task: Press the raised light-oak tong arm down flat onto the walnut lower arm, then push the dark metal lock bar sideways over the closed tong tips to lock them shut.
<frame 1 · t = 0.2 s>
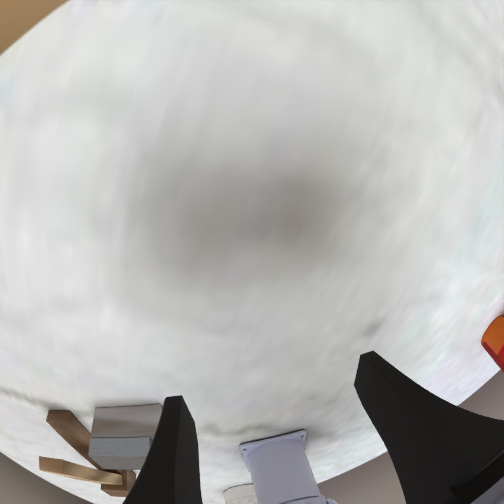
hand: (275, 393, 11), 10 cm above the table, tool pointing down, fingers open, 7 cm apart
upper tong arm: (85, 474, 22), point 5 cm above the table, hinge at 18.0°
white cup: (243, 489, 39), on the table
lock bar: (124, 454, 20), point 5 cm above the table, slide at 0.0 cm
paper cup: (492, 329, 33), on the table
tongs base: (89, 442, 26), on the table
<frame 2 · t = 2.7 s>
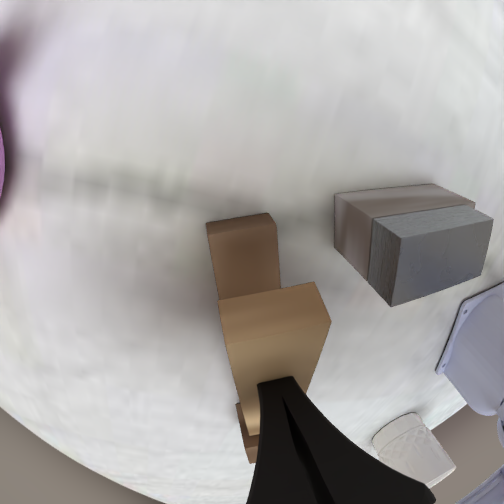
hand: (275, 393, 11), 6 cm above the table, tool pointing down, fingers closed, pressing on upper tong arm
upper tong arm: (270, 391, 13), point 5 cm above the table, hinge at 18.0°, touching gripper
white cup: (394, 427, 30), on the table
lock bar: (435, 250, 12), point 5 cm above the table, slide at 0.0 cm
tongs base: (252, 330, 17), on the table
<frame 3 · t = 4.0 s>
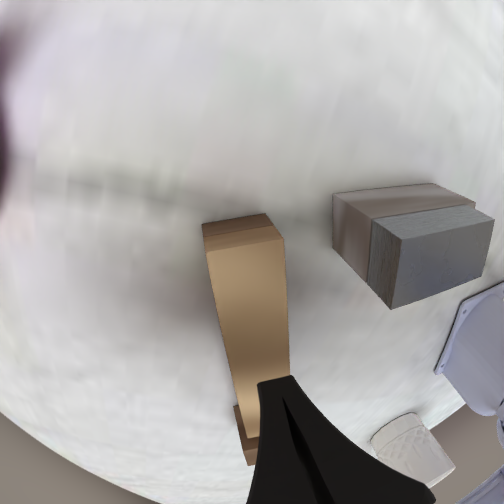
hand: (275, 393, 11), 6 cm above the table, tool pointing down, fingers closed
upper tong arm: (257, 360, 15), point 2 cm above the table, hinge at -0.7°, touching tongs base
white cup: (392, 427, 30), on the table
lock bar: (436, 251, 11), point 5 cm above the table, slide at 0.0 cm
tongs base: (249, 332, 17), on the table
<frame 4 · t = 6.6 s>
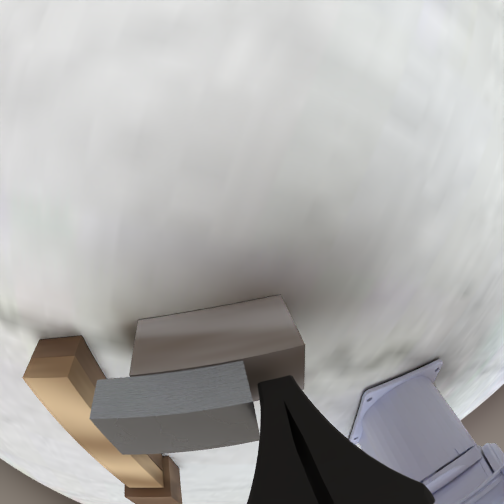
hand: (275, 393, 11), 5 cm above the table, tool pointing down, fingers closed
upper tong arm: (105, 440, 14), point 2 cm above the table, hinge at -0.7°, touching tongs base
lock bar: (176, 414, 10), point 5 cm above the table, slide at 1.5 cm, touching gripper
tongs base: (109, 413, 16), on the table
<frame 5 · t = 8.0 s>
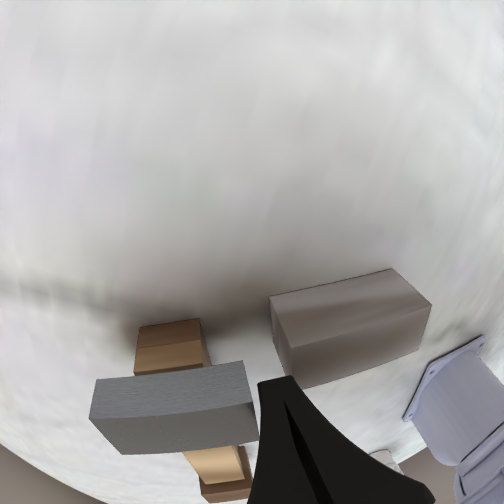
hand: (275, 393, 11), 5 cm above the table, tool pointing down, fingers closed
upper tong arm: (202, 434, 15), point 2 cm above the table, hinge at -0.7°, touching tongs base
white cup: (364, 461, 30), on the table
lock bar: (176, 414, 10), point 5 cm above the table, slide at 7.9 cm, touching gripper
tongs base: (199, 404, 17), on the table
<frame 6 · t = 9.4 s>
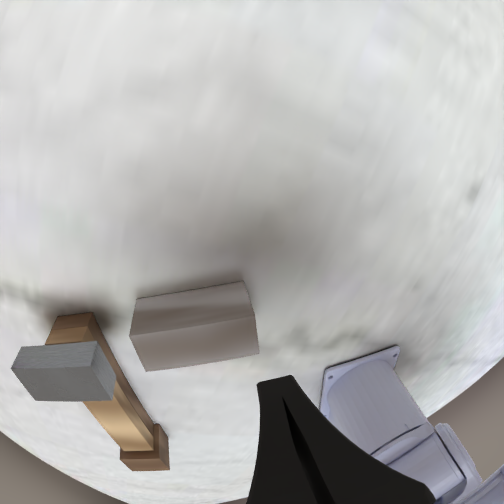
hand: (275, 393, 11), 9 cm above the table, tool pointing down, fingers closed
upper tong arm: (106, 402, 19), point 2 cm above the table, hinge at -0.7°, touching tongs base
lock bar: (62, 373, 14), point 5 cm above the table, slide at 8.0 cm
tongs base: (110, 380, 21), on the table
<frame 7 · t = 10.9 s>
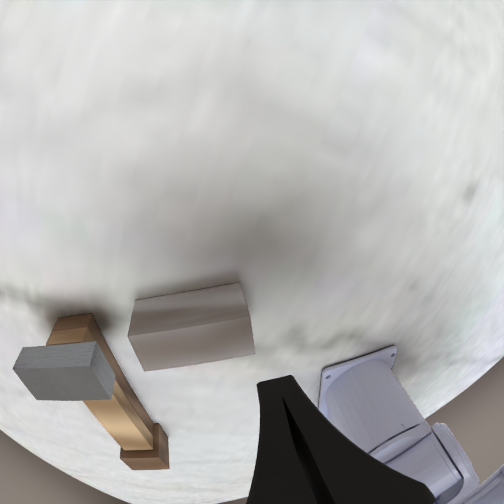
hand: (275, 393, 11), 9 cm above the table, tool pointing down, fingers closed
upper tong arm: (106, 401, 19), point 2 cm above the table, hinge at -0.7°, touching tongs base
lock bar: (63, 373, 14), point 5 cm above the table, slide at 8.0 cm
tongs base: (110, 380, 21), on the table
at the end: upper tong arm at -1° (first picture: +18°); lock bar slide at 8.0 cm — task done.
